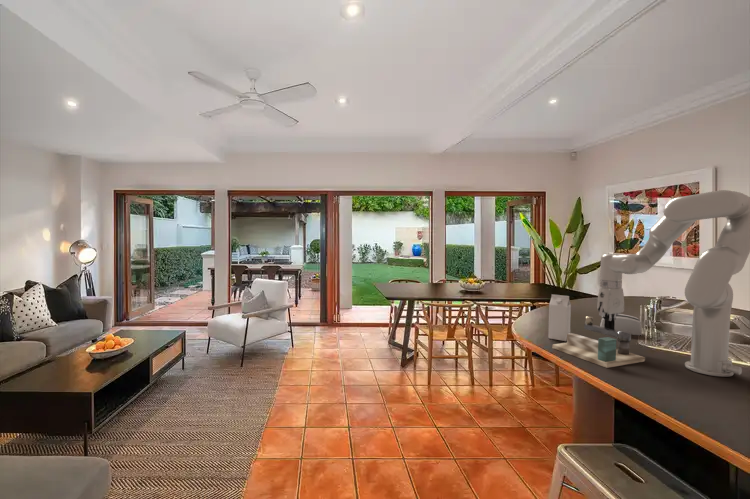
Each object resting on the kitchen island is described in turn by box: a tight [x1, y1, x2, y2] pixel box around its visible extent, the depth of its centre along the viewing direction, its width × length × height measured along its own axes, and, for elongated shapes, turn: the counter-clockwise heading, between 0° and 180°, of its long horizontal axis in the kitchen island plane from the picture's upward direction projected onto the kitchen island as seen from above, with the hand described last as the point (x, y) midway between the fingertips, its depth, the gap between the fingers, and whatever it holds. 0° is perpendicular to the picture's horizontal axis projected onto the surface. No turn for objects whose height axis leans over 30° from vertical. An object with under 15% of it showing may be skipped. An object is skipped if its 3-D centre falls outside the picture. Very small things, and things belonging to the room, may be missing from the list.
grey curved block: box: [599, 313, 642, 336], centre depth 181 cm, size 17×5×10 cm, turn 65°
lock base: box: [552, 332, 646, 369], centre depth 149 cm, size 24×19×9 cm
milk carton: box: [548, 293, 572, 342], centre depth 171 cm, size 7×7×19 cm
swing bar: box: [583, 315, 632, 343], centre depth 152 cm, size 18×4×6 cm, turn 21°
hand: (609, 329), depth 158 cm, fingers closed
